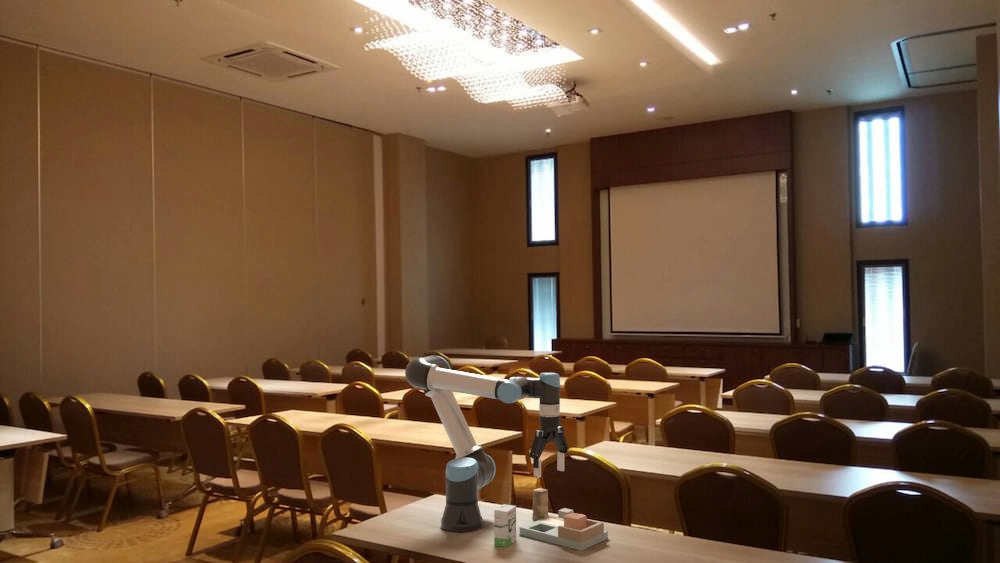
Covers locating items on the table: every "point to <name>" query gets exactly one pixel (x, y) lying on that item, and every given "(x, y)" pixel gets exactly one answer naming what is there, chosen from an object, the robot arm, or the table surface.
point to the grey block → (564, 512)
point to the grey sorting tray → (566, 533)
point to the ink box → (504, 525)
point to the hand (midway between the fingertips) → (549, 473)
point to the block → (575, 521)
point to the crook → (541, 505)
